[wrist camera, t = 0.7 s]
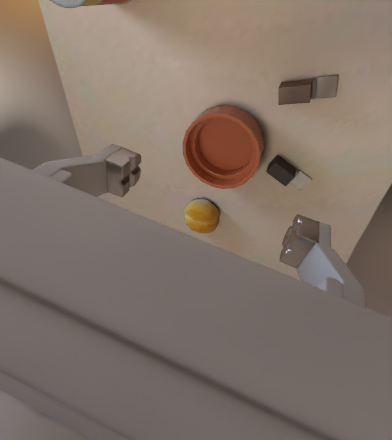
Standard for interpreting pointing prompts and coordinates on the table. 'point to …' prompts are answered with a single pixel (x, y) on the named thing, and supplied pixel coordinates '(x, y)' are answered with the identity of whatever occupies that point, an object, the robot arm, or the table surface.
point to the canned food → (86, 2)
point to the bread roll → (201, 216)
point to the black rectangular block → (287, 173)
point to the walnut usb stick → (307, 89)
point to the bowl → (223, 147)
